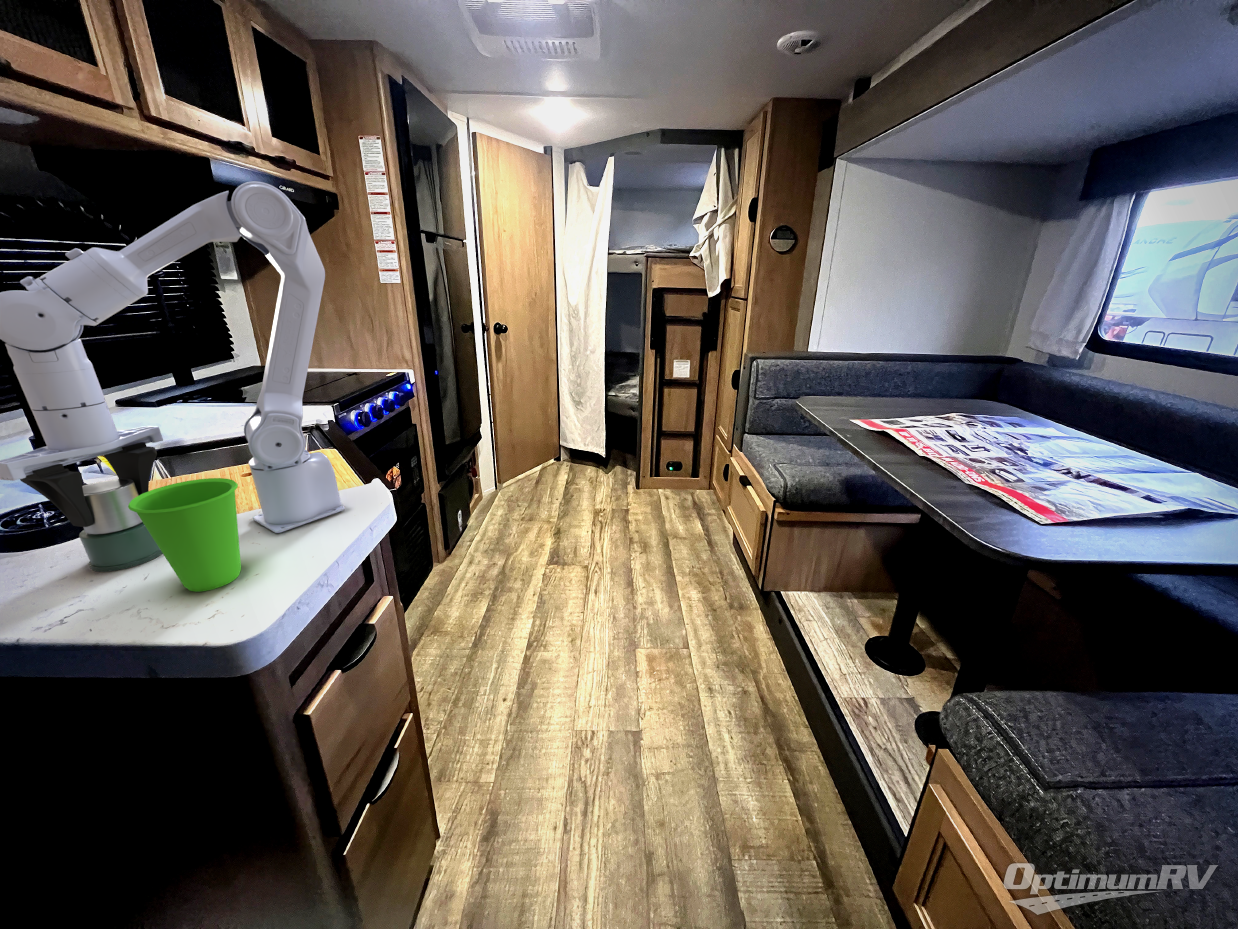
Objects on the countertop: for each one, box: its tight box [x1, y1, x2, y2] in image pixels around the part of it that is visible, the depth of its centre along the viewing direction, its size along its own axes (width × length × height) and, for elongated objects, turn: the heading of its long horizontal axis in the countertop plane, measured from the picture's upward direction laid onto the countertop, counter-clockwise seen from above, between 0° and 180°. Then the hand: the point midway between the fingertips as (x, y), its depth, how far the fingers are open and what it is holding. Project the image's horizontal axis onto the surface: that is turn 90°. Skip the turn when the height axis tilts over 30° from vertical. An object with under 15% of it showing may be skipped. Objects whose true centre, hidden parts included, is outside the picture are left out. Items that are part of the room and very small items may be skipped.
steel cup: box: [82, 478, 142, 534], centre depth 58 cm, size 5×5×5 cm
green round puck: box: [78, 522, 163, 573], centre depth 59 cm, size 7×7×4 cm
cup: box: [128, 477, 242, 593], centre depth 54 cm, size 9×9×11 cm
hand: (113, 514), depth 58 cm, fingers closed on steel cup, 5 cm apart
